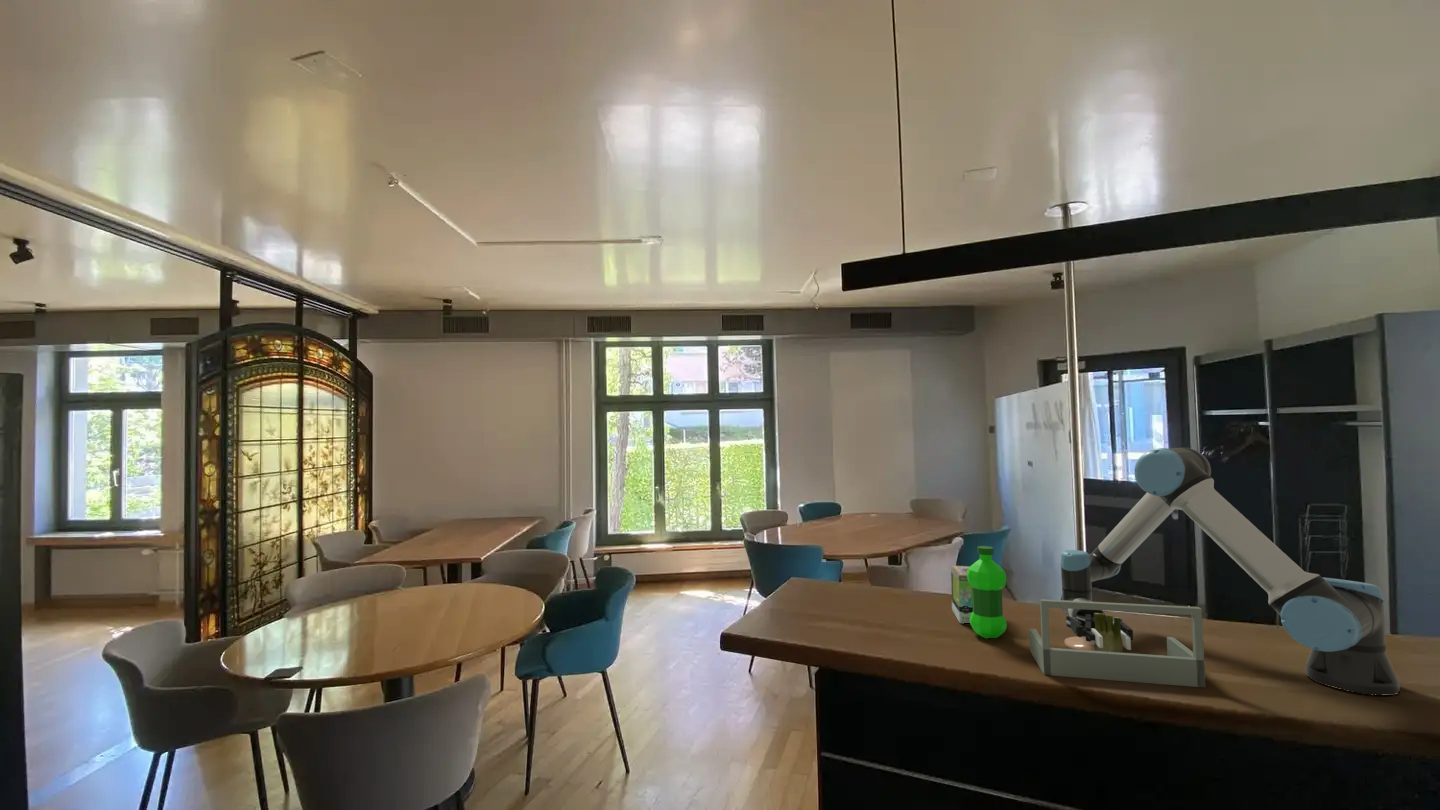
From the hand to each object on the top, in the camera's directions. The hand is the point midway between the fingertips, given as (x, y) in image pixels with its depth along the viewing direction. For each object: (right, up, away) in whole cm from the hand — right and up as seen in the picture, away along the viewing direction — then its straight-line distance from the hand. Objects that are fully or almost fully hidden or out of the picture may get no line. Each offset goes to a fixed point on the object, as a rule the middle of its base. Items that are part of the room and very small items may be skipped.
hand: (1114, 643), depth 152 cm
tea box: (-16, -10, +47) cm, 50 cm away
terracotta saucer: (+5, -8, +18) cm, 21 cm away
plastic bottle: (-18, -9, +29) cm, 35 cm away
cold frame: (+1, -7, +4) cm, 8 cm away
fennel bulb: (+1, -7, +5) cm, 9 cm away
